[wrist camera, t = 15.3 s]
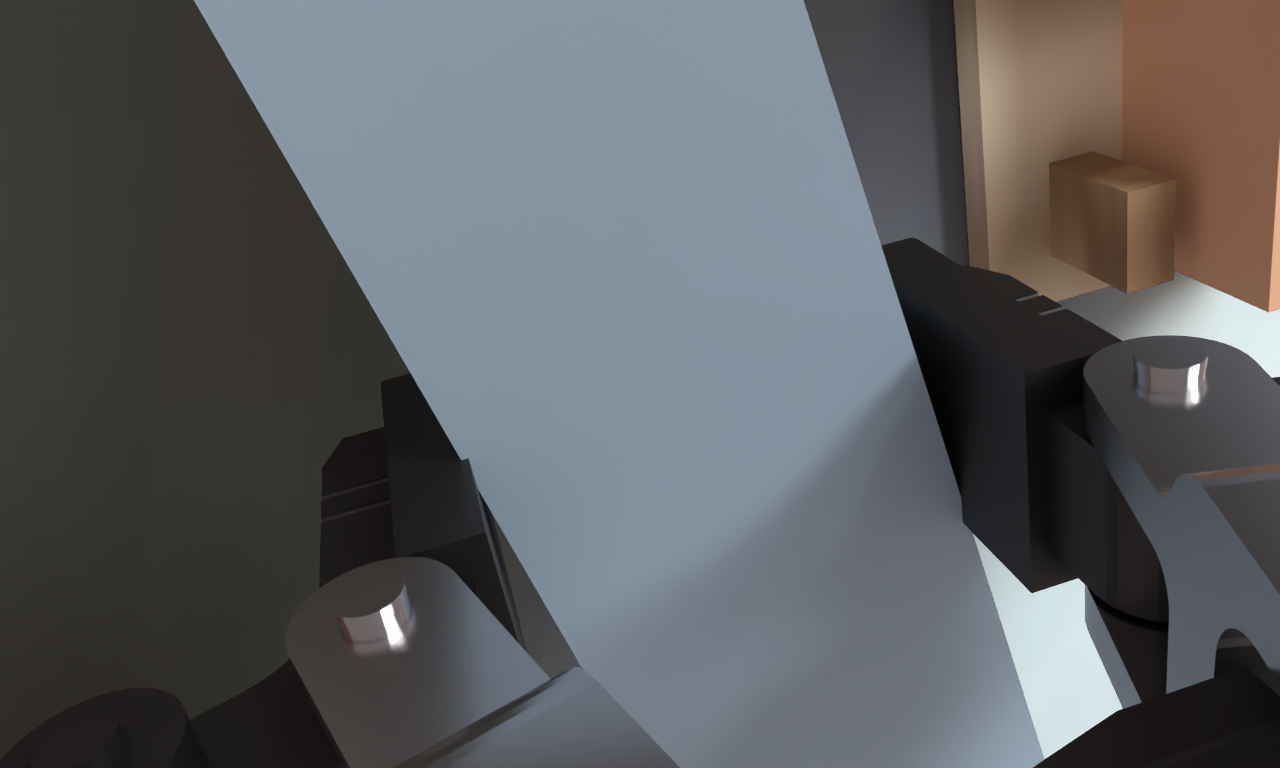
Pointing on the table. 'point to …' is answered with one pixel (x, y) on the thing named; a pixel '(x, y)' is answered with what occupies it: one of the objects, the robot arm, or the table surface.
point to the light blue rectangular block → (659, 356)
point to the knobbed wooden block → (1210, 133)
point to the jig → (1055, 150)
